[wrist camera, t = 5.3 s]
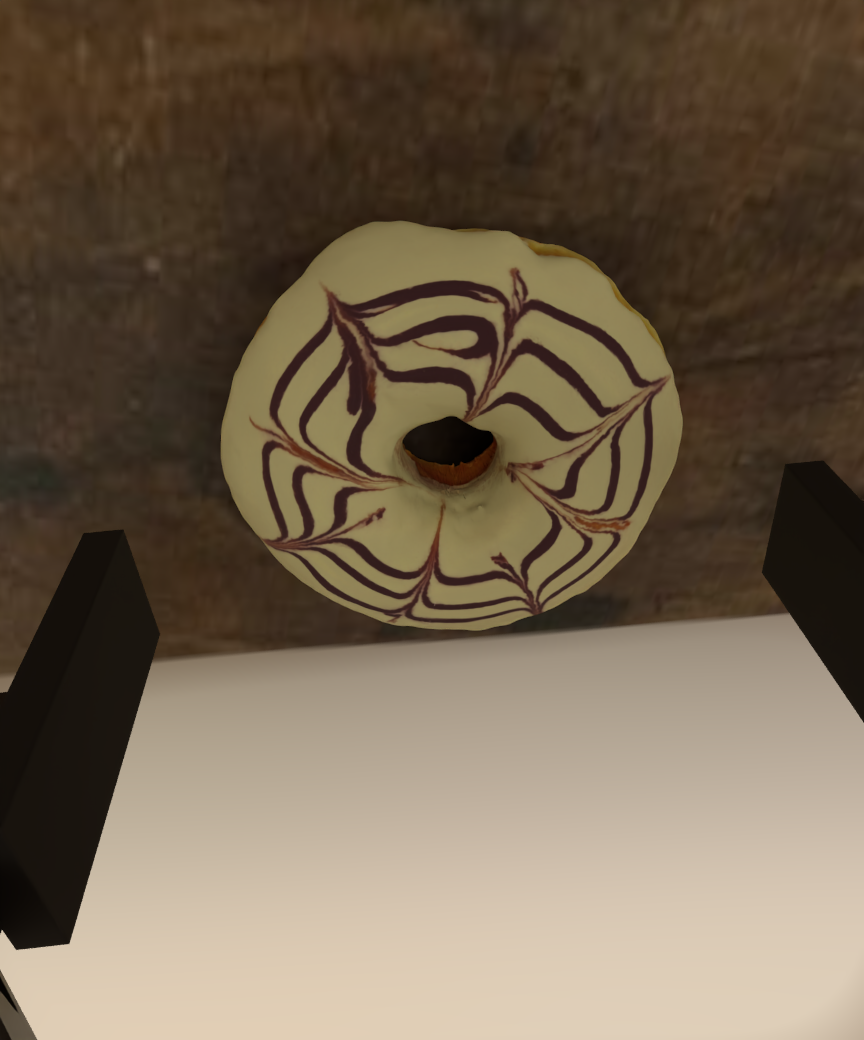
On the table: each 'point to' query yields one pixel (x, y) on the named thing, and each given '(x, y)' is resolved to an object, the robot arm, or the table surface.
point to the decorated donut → (441, 393)
